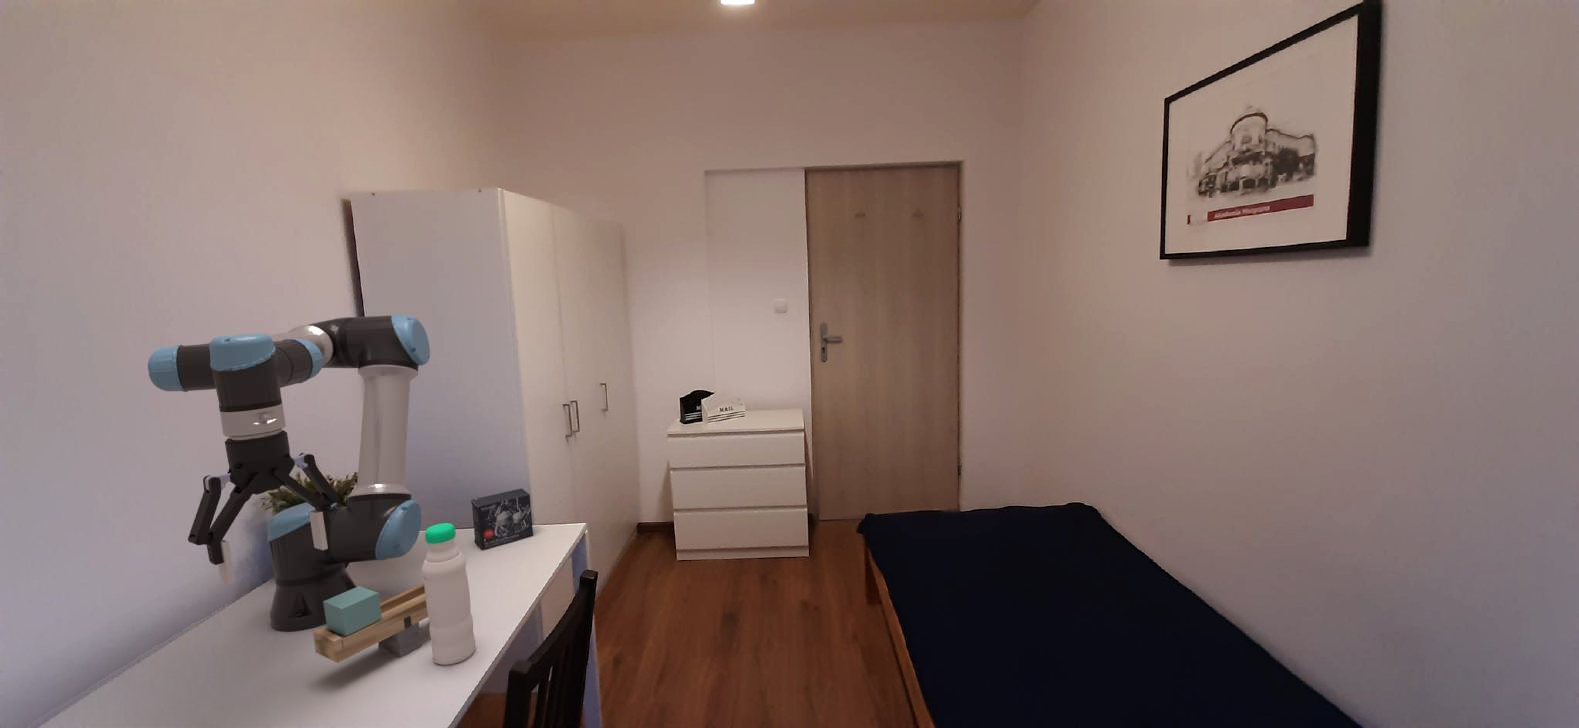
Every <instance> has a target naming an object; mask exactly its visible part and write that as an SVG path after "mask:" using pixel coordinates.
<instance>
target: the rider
mask: <svg viewBox="0 0 1579 728" xmlns="http://www.w3.org/2000/svg"><path fill="white" fill-rule="evenodd" d="M380 601H381V600H380V595H379V592H377V591H375V590H371V589H369V588H366V587H364V586H361V585H358V586H356V588H354V589H351V590H349V591H347V592H344V593H342V594H340V595H337V596H335V597H332V598H330V599H328V600H325V601H323V603H324V610H325V616H326V623H325V624H326V628H329V629H331V630H333V631H334V633H335V635H337V636H340V637H343V636H347V635H349V634H352V633H354V632H356V631H358V630H360V629H362V628H364V627H366V626H368V625H370V624H372V623H374V622H376V621H379V620H381V619H382V616H381V608H380V603H381V602H380Z"/></svg>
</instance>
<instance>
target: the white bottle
mask: <svg viewBox="0 0 1579 728" xmlns="http://www.w3.org/2000/svg"><path fill="white" fill-rule="evenodd" d="M456 535H457V534H456V528H455V526H454V524H452V523H450V522H449V523H448V522H446V523H445V522H444V523H438V524H434V525H432V526H429V527H428V528H426V530H425V532H424V536H425V538H424V539H425V541H426V544H427V545H428V547H429V549H428V551H427V553H426V555H425V559H424V561H423V564H422V567H421V573H422V576H423V579H424V581H423V583H424V588H425V598H426V606H427V612H428V617H427V618H428V620H429V636H430V640H431V644H432V645H431V652H432V653H431V654H432V660H433V661H434V662H435V663H436V664H438V665H442V666H449V665H455V664H459V663H461V662H463V661H464V660H467V659H468V658H469V657H470V656H472V654H473V653H474V652H475V650H476V637H475V633H474V620H473V619H474V618H473V616H472V613H471V594H470V585H469V578H468V572H467V569H466V567H467V560H466V557H465V555H464V554H463V553H462V551H461V550H460V548H459V547H458V546H457V544H455V543H454V540H456Z"/></svg>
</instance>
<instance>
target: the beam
mask: <svg viewBox="0 0 1579 728" xmlns="http://www.w3.org/2000/svg"><path fill="white" fill-rule="evenodd" d="M380 608H381V616H382V619H381V620H379V621H376V622H374V623H372V624H370V625H368V626H366V627H364V628H362V629H360V630H358V631H356V632H354V633H352V634H349V635H347V636H343V637H340V636H337V635H335V633H334V631H333V630H331V629H329V628H327V627H325V628H321V627H319V628H317V629H315V630H312V636H313V641H314V647H315V648H314V649H315V653H316V654H318V655H320V656H321V657H325V658H327V659H328V660H331V661H333V662H334V663H337V664H339V663H341V662H342V661H345V660H347V659H348V658H351V657H353V656H354V655H356V654H359V653H361V652H362V651H364V650H366V649H368V648H371V647H373V646H375V645H376V644H378V649H380V650H382V651H383V652H387V653H388V654H391V655H393V656H396V657H398V658H400V659H401V658H403V657H405V656H408V655H409V654H410V653H412V652H414V651H416V650H418V649H420V648H422V647H423V645H422V637H421V636H422V635H421V629H420V628H421V627H420V622H422V621H424V620H425V619H427V618H429V617H428V612H427V606H426V598H425V588H424V582H423V583H421V584H419V585H417V586H415V587H412V588H411V589H408V590H406V591H404V592H402V593H399V594H398V595H395V596H393V597H391V598H389V599H387V600H384V601H382V602H380Z"/></svg>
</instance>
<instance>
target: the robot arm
mask: <svg viewBox="0 0 1579 728" xmlns="http://www.w3.org/2000/svg"><path fill="white" fill-rule="evenodd" d="M430 348H431V347H430V342H429V337H428V335H427V332H426V330H425V326H424V325H423V323H422V322H421V321H420V320H419V319H418V318H417V317H415V316H412V315H398V314H392V315H379V316H377V315H375V316H374V315H373V316H354V317H353V316H349V317H347V316H346V317H337V318H333V319H328V320H324V321H323V320H322V321H318V322H314V323H310V324H304V325H298V326H295V327H293V328H291V329H290V330H288V332H282V333H281V332H280V333H274V334H268V333H245V334H244V333H243V334H234V335H232V334H231V335H223V336H222V335H221V336H217V337H214V338H213V339H211V341H210V342H208V343H202V344H192V345H191V344H190V345H182V344H178V345H175V346H164V347H163V346H162V347H160V348H158V349H156V350H155V351H153V353H152V354H151V355H150V356H149V359H148V362H147V370H148V377H149V379H150V381H151V382H152V384H153V385H154V386H155V388H157V389H159V390H161V391H165V392H183V393H188V392H192V391H208V390H209V391H210V390H215V391H216V396H217V400H218V409H219V415H220V421H221V422H220V423H221V427H222V435H224V436H225V437H227V439H226V440H225V441H224V446H225V452H226V457H227V458H226V459H227V463H228V470H227V473H225V474H219V475H206V476H204V477H203V479H202V481H203V483H202V485H203V494H202V496H201V498H200V503H199V506H198V508H197V511H196V513H195V518H194V519H193V523H192V525H191V529H190V531H189V535H188V538H187V541H188V542H189V543H191V544H192V545H195V546H202V545H203V546H204V545H206V549H207V554H208V560H209V562H210V563H211V564H212V565H215V566H217V565H218V571H219V575H220V581H221V582H223V583H225V584H228V585H232V584H234V583H236V576H235V569H234V565H233V559H232V553H231V549H230V548H231V547H230V541H227V540H225V539H224V538H225V536H226V534H228V531H229V529H231V526H232V524H234V521H235V520H236V519H237V517H238V515H239V514H240V512H241V511H242V509H243V508H244V506H245V504H246V503H247V502H248V501H249V500H250V499H251V498H252V495H256V496H257V495H261V494H264V493H266V492H268V491H275V490H280V489H281V487H284V488H285V489H287V490H289V491H290V492H291V493H293V495H296V496H297V497H298V498H299V499H301V500H302V501H304V502H303V503H299V504H297V505H294V506H291V507H288V508H285V509H284V510H281V511H280V512H278V513H276V514H274V515H273V516H272V517H270V519H269V520H268V522H267V525H266V527H267V542H268V545H269V550H270V556H271V562H272V568H273V575H274V579H275V580H274V581H275V591H274V595H273V598H272V603H271V608H270V612H269V618H270V619H269V620H270V625H271V627H272V628H273V629H274V630H278V631H282V632H284V631H285V632H287V631H290V632H291V631H298V630H299V631H300V630H305V629H310V628H314V627H318V626H321V625H323V624H327V623H326V616H325V610H324V603H323V601H325V600H328V599H330V598H332V597H335V596H337V595H340V594H342V593H344V592H347V591H349V590H351V589H354V588H356V587H357V585H356V583H355V582H354V580H353V579H352V577H351V576H350V574H349V572H348V571H347V569H346V566H345V564H350V563H360V562H370V561H371V562H372V561H386V560H389V559H394V558H395V559H396V558H400V557H404V556H405V555H407V554H408V553H409V552H410V551H411V550H412V549H413V548H414V545H416V544H415V543H416V542H417V540H418V537H419V533H420V532H421V531H420V530H421V528H422V527H421V525H422V517H423V516H422V513H421V512H422V511H421V510H422V508H421V506H420V504H419V503H418V502H417V501H414V500H413V499H412V493H411V491H409V489H407V488H406V487H405V477H406V476H405V474H406V458H407V439H408V438H407V437H408V423H409V422H408V421H409V406H410V404H409V403H410V387H411V381H412V380H414V379H415V378H416V377H418V376H419V366H420V367H421V366H424V365H426V364H427V363H428V362H429V359H430V356H431V349H430ZM322 369H357V374H358V375H360V376H361V377H362V378H363V379H364V380H365V381H364V390H363V391H364V392H363V394H364V395H363V405H362V406H363V407H362V417H361V428H360V429H361V430H360V442H359V444H360V445H359V458H358V470H357V480H356V481H357V482H356V488H355V489H354V490H353V491H352V492H351V493H350V494H348V495H347V499H346V506H337V505H338V503H339V502H340V500H341V498H340V496H339V495H338V494H337V492H336V490H335V489H334V488H333V487H332V485H331V484H330V483H329V481H328V480H327V478H326V477H325V476H324V474H323V473H322V472H321V470H320V469H319V468H318V467H317V462H316V458H315V456H314V455H313V454H312V453H306V452H301V453H299V455H298V456H294V457H292V456H291V453H290V451H291V448H290V443H289V436H288V432H287V431H285V430H283V429H284V428H285V427H286V426H287V425H286V419H285V418H286V417H285V411H284V406H283V405H284V404H283V399H282V394H281V388H285V387H290V386H292V385H297V384H303V383H304V382H307V381H308V380H311V379H313V378H314V377H316V376H317V375H318V374H319V373H320V372H321V371H322ZM295 465H296V467H297V468H299V469H301V471H302V472H303V474H305V476H306V477H307V479H308V480H309V481H310V482H311V484H312V485H313V486H314V487H315V489H316V490H317V492H318V493H319V494H320V495H321V497H322V498H321V497H319V496H318V495H316V494H315V493H313V492H312V491H311V490H310V489H308V488H307V487H305V486H304V485H303V484H301V483H300V481H298V480H297V479H295V478H294V477H292V476H291V472H292V471H293V469H294V468H295ZM228 482H230V483H232V484H233V485H234V487H233V489H232V490H231V492H230V493H229V498H228V500H227V501H226V503H225V504H224V506H223V508H222V509H221V511H220V512H219V514H218V515H217V516H216V519H215V520H214V517H215V513H216V512H217V508H218V505H219V502H220V499H221V496H222V491H223V490H224V489H225V488H226V486H227V483H228Z"/></svg>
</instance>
